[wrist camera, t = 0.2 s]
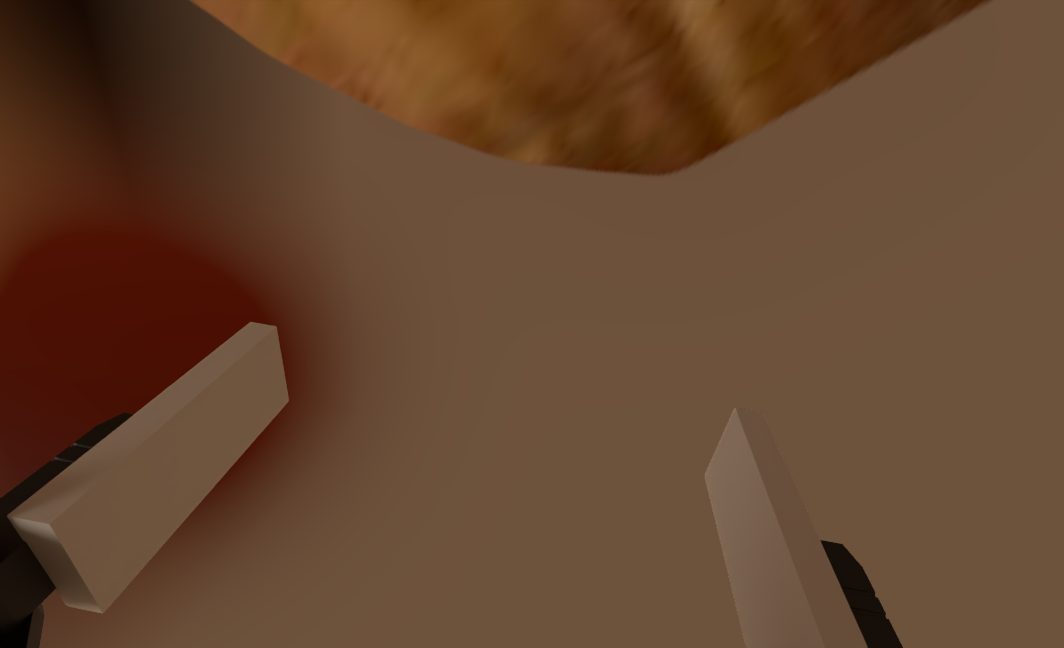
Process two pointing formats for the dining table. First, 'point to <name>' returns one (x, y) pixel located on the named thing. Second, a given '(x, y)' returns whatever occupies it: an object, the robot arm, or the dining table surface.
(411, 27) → the dining table surface
